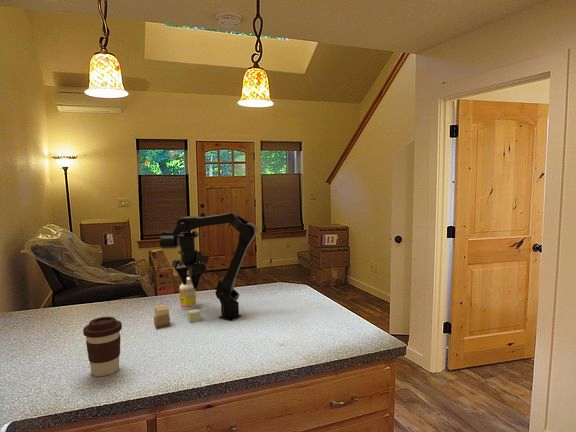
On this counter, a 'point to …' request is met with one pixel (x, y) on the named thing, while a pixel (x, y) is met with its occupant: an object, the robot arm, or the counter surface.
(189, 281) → the supplement bottle
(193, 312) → the sage block
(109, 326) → the coffee cup
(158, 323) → the walnut base
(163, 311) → the oak block
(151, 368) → the counter surface
